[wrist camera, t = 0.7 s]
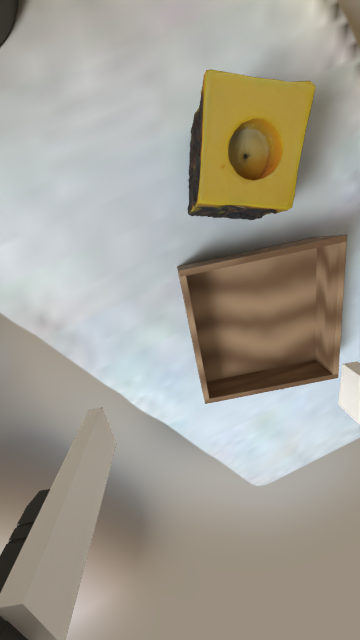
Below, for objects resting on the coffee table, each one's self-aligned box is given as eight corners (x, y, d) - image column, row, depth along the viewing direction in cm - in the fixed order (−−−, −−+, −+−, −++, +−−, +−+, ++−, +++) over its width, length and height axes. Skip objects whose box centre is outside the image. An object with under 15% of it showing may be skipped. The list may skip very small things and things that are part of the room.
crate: (177, 266, 32) (178, 270, 27) (317, 236, 32) (347, 234, 26) (200, 383, 39) (205, 403, 34) (315, 360, 39) (338, 377, 34)
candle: (190, 128, 27) (201, 64, 17) (268, 134, 27) (320, 75, 18) (186, 217, 30) (193, 204, 21) (255, 221, 31) (293, 210, 21)
